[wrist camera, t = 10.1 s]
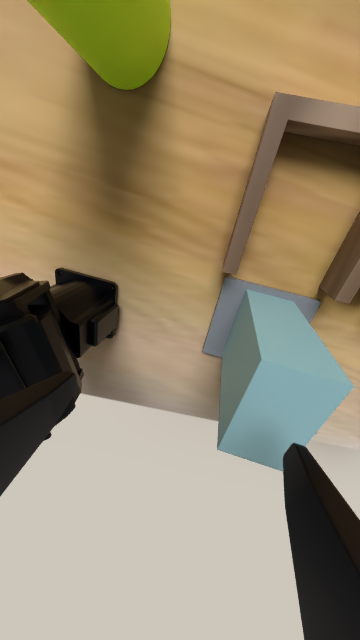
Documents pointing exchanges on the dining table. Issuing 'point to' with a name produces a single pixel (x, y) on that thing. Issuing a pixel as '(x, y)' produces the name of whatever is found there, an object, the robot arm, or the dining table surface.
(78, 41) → the soap dispenser
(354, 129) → the walnut rack
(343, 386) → the light blue rectangular prism
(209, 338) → the slate mat
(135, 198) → the dining table surface
